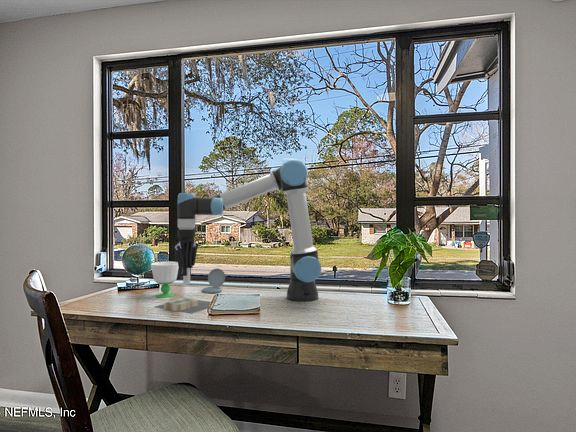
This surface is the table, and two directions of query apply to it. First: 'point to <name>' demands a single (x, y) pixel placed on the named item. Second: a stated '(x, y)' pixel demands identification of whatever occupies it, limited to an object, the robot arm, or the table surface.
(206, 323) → the table surface
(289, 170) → the robot arm
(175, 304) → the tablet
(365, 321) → the table surface
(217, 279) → the grey upright round piece
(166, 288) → the cup
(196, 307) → the mat
